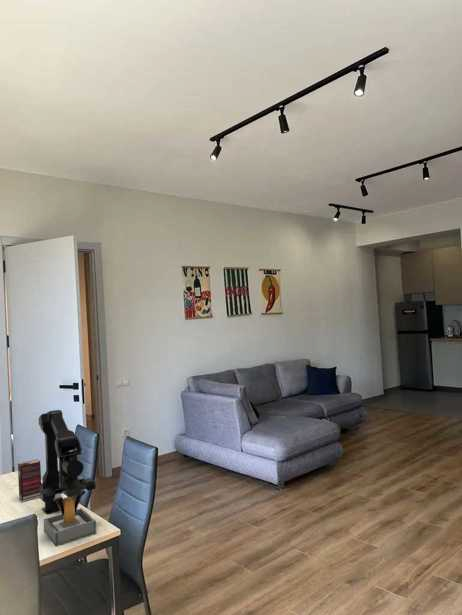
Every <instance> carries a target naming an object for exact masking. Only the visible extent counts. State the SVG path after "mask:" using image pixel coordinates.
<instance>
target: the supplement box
mask: <svg viewBox="0 0 462 615" xmlns="http://www.w3.org/2000/svg"><path fill="white" fill-rule="evenodd" d="M41 469H42V468H41V461H40V460H39V459H34V460H33V459H32V460H28V461H25V462H24V461H23V462H19V463H17V473H18V474H17V477H18V478H17V480H18V499H19V501H20V502H21V503H24V502H28V501H29V502H30V501H32V500H35V499H40V495H39V493H40V487H41V483H42V470H41Z"/></svg>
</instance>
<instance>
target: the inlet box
mask: <svg viewBox="0 0 462 615" xmlns="http://www.w3.org/2000/svg"><path fill="white" fill-rule="evenodd" d="M43 531H44V534H46V536H47V537H48V538H49V540H50V541H51V542H52V544H53V545H54V546H55V547H58V546H59V547H60V546H62V545H65V544H68V543H71V542H74V541H78V540H80V539H83V538H86V537H89V536H92V535H95V534H97V524H96V520H95V519H94V518H93V517H92V516H91V515H90V514H89V513H88V512H87V511H85V509H83V508H82V507H81V508H77V510H76V512H75V521H74V522H72V523H68V524H66V523H64V522H63V515H62V513H59V514H55V515H53V516H50V517H45V518H43Z"/></svg>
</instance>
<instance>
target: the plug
mask: <svg viewBox="0 0 462 615" xmlns="http://www.w3.org/2000/svg"><path fill="white" fill-rule="evenodd" d="M63 507H64V515H63V522H64V523H66V524H68V523H72V522H74V521H75V499H74V497H73V496H72V497H63Z"/></svg>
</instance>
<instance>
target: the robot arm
mask: <svg viewBox="0 0 462 615" xmlns="http://www.w3.org/2000/svg"><path fill="white" fill-rule="evenodd" d="M38 425H39V427H40V430H41V431H42V433H43V434H44V443H45V444H44V445H45V470H46V471H45V472H44V474H43V476H42V477H41V487H40V493H39V495H40V498H39V499H40V500H41V501H42V503H44V507H42V508H41V509H42V511H43V512H44V513H45V514H46V515H48V514H51V513H54V512H58V511H60V514H62V515H64V507H63V499H64V497H62V494H66V496H67V497H74V499H75V512H76V510H77V509H78V506H79V503H80V500H81V498H82V497H83V495H84V494H86V493H87V491H92V490H96V488H97V484H96V481H95V480H93V478H90V477H88V478H85V477H84V478H80V479H79V478H78V477H80V476H81V474H82V473H83V471H84V464H83V462H82V461H81V460H79V459H78V456H79V455H82V446H81V442H80V439H79V438H78V436H77V435H76V433H75V432H74V431H72V430H70V429H69V428H68V426H67V424H66V421H65V419H64V417H63V411H62V410H61V409H56V410H55V409H54V410H50V411H47V412H46V413H42V414H41V415H39V417H38ZM86 490H87V491H86Z"/></svg>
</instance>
